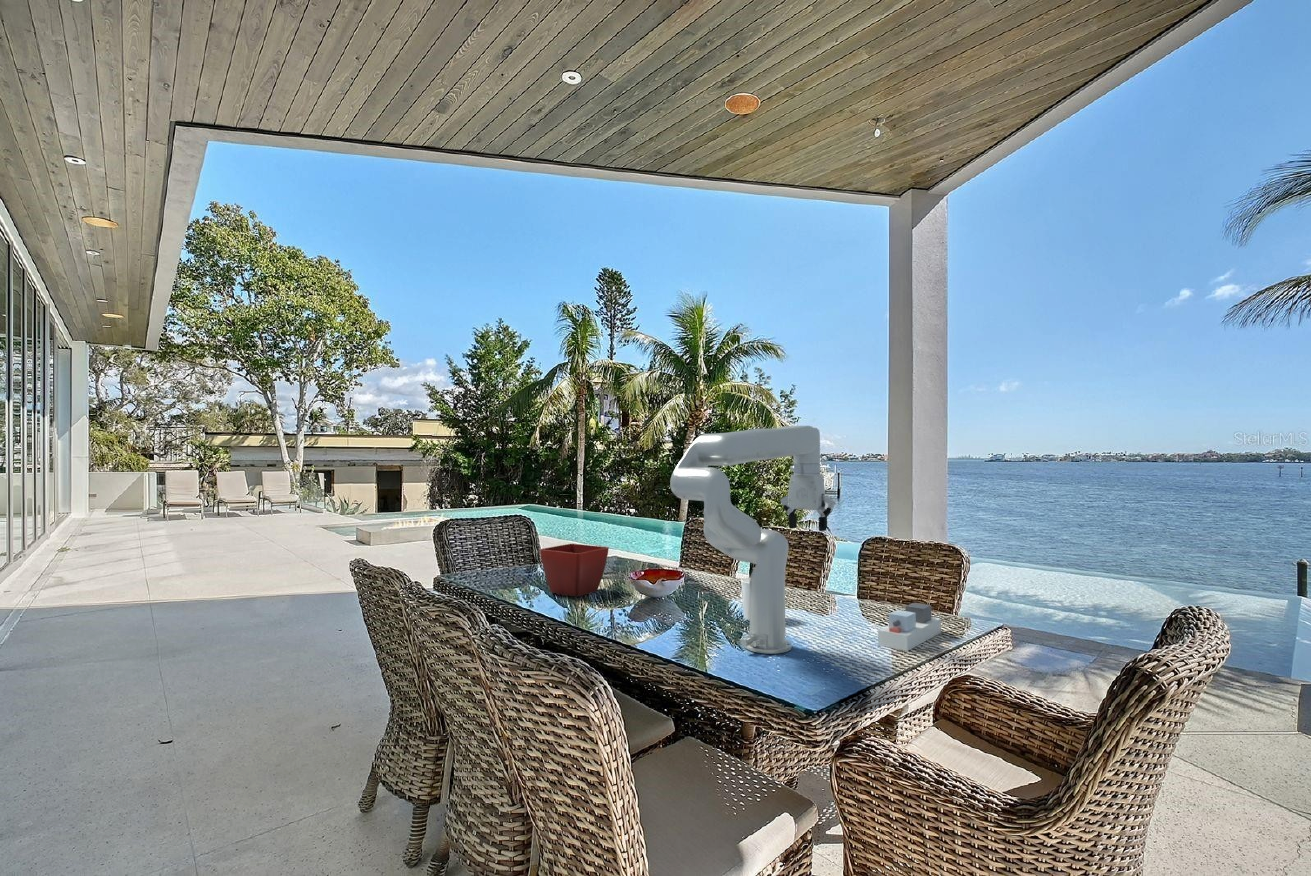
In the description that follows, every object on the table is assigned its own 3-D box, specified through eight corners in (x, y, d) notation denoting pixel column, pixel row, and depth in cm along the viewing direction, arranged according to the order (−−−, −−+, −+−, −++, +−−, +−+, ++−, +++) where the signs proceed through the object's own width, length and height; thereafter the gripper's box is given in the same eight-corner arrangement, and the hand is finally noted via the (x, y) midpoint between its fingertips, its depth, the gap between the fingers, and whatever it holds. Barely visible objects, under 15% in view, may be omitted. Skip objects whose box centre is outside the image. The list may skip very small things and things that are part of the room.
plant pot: (610, 590, 251) (610, 546, 251) (578, 600, 235) (578, 553, 235) (571, 585, 261) (571, 543, 261) (538, 594, 245) (538, 549, 245)
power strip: (907, 651, 173) (907, 632, 173) (878, 645, 178) (878, 627, 178) (941, 632, 190) (940, 615, 190) (913, 627, 196) (913, 611, 196)
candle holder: (777, 616, 210) (776, 579, 210) (765, 623, 201) (765, 584, 201) (748, 613, 214) (748, 576, 215) (736, 619, 206) (736, 581, 206)
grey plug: (904, 648, 175) (904, 617, 175) (886, 645, 178) (886, 614, 178) (916, 642, 180) (915, 612, 180) (898, 639, 184) (897, 609, 184)
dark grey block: (923, 638, 185) (923, 608, 185) (906, 634, 188) (905, 606, 188) (933, 632, 190) (933, 604, 190) (916, 629, 194) (916, 601, 194)
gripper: (774, 470, 193) (774, 528, 192) (827, 470, 181) (828, 533, 180) (788, 469, 198) (788, 526, 198) (840, 470, 186) (841, 530, 186)
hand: (807, 529), depth 189 cm, fingers open, 9 cm apart
